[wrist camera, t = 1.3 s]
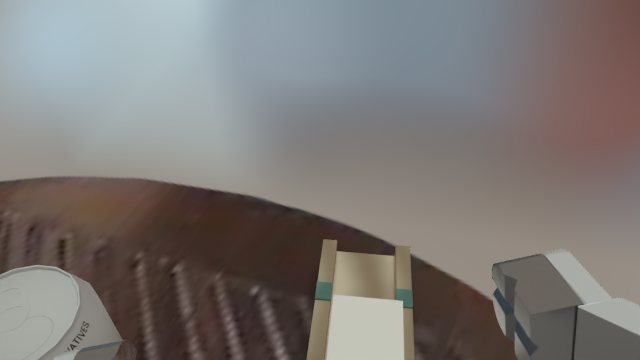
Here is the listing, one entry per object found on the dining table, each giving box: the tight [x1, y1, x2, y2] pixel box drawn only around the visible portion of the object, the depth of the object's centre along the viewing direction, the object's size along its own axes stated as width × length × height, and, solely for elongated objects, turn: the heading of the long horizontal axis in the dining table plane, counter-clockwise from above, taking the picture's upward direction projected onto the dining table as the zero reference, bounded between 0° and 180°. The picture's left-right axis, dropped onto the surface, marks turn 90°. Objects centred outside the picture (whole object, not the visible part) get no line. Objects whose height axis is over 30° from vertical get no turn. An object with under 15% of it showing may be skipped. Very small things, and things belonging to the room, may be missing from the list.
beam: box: [307, 239, 415, 360], centre depth 36 cm, size 8×17×6 cm, turn 174°
